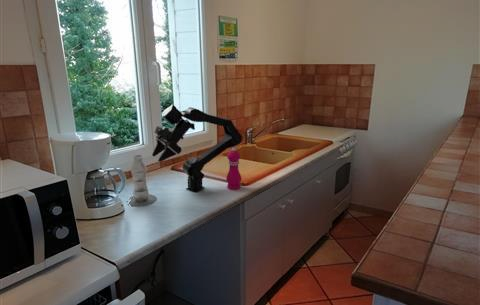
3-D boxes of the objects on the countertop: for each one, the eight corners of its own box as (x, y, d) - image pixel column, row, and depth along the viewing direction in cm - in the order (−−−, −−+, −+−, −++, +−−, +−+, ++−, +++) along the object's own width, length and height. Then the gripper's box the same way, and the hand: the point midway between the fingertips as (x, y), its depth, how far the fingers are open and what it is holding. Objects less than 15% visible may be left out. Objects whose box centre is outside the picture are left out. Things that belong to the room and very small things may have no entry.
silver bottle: (152, 197, 142) (148, 154, 136) (143, 204, 136) (140, 159, 130) (139, 196, 143) (135, 153, 138) (130, 202, 137) (126, 157, 132)
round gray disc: (163, 198, 141) (163, 198, 141) (139, 209, 131) (139, 209, 131) (143, 192, 148) (143, 191, 148) (119, 201, 138) (119, 201, 138)
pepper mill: (233, 183, 159) (233, 145, 154) (244, 187, 155) (244, 147, 149) (223, 187, 154) (222, 147, 148) (234, 191, 149) (234, 150, 144)
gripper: (159, 116, 144) (136, 142, 142) (172, 122, 129) (147, 152, 126) (176, 131, 150) (155, 157, 148) (191, 139, 135) (167, 168, 132)
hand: (155, 158), depth 138 cm, fingers open, 9 cm apart
